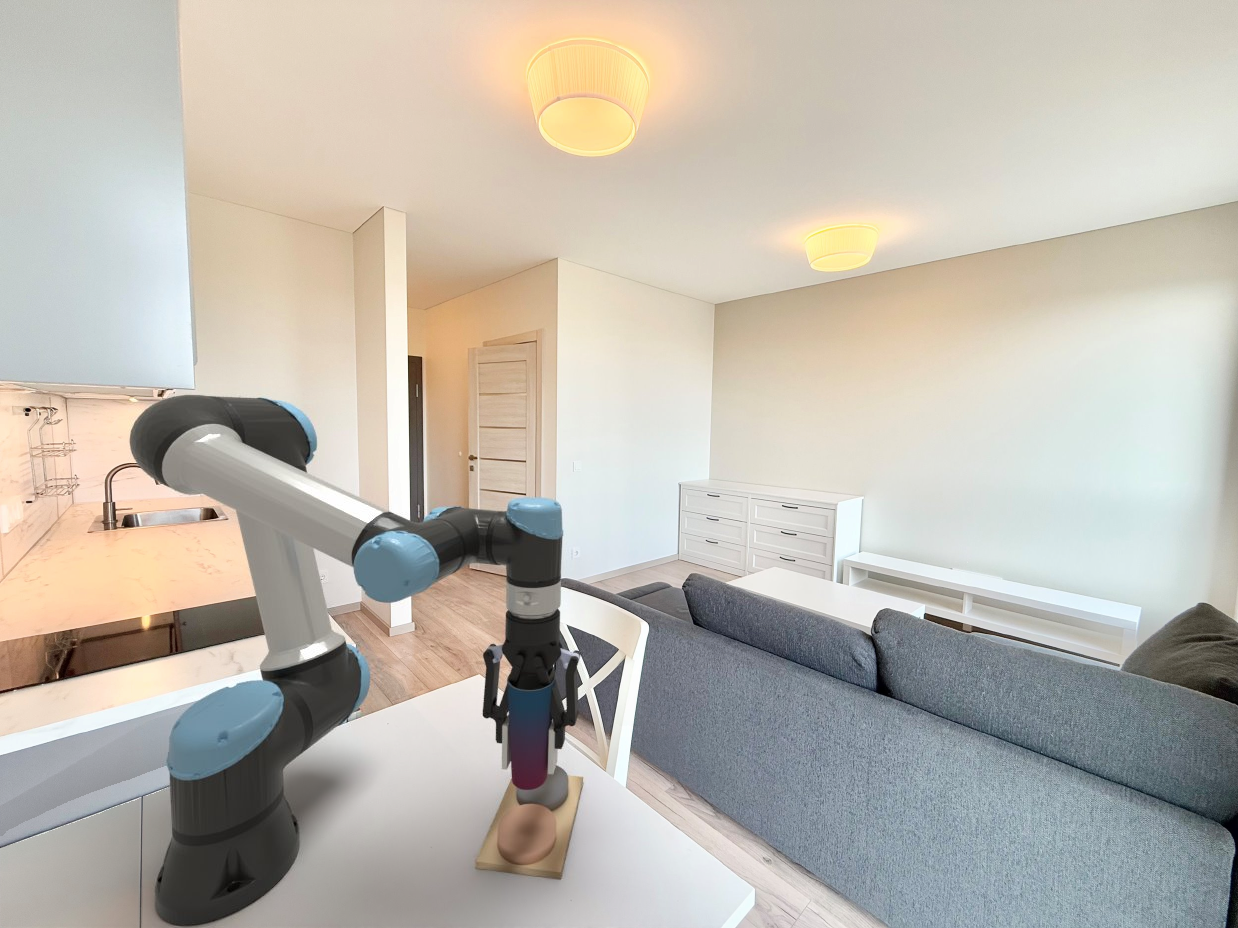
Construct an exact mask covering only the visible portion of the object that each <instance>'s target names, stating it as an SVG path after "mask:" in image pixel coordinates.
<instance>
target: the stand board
mask: <svg viewBox="0 0 1238 928" xmlns="http://www.w3.org/2000/svg"><path fill="white" fill-rule="evenodd" d="M583 785H584V776H577V775H571V774H570V775H568V773H567V772H566V771H565V769H564V768H562V767H561V766H559V765H557V764H556V767H555V770H554V773H553V774H548V771H547V779H546V781H545V783H544V784H543V785H541V786H540V787H538V788H536V789H533V790H522V789H519V788H517V787H516V786H514V784H513V782H512V777H511V779H510V780H509V783H508V785H507V787H506V790H505V792H504V795H503V797H502V799H501V802H500V804H499V805H498V809H497V810H496V813H495V815H494V818H493V819H492V822H491V825H490V827H489V830H488V831H487V834H486V837H485V838H484V840H483V843H482V845H481V847H480V850H479V852H478V854H477V857H476V860H475V863H474V868H475V869H478V870H479V869H481V870H488V871H493V872H502V873H509V874H518V875H525V876H534V877H541V878H547V879H548V878H549V879H557V880H561V879H562V876H563V871H564V866H565V863H566V858H567V854H568V849H569V844H570V841H571V836H572V832H573V827H574V823H575V819H576V814H577V810H578V806H579V801H580V797H581V793H582V789H583Z"/></svg>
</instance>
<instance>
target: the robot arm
mask: <svg viewBox="0 0 1238 928" xmlns="http://www.w3.org/2000/svg"><path fill="white" fill-rule="evenodd" d="M128 441H129V447H130V453H131V454H132V457H133V459H134V461H135V462H136V464H137V465H138V466H139V467H140V469H141V470H142V471H143V472H144V473H145V474H147V475H148V476H149V477H150V478H152V479H153V480H154V481H157V482H158V483H160V484H161V485H164V486H166V487H167V488H170V489H172V490H174V491H175V492H177V493H180V494H184V495H191V496H192V495H193V496H194V495H203V496H206V497H207V498H210V499H212V500H214V501H216V502H219V503H221V504H223V505H225V506H226V507H228V508H230V509H233V510H235V512H236V518H237V522H238V525H239V530H240V534H241V538H242V539H241V540H242V543H243V547H244V551H245V555H246V560H247V564H248V569H249V572H250V576H251V580H252V584H253V590H254V594H255V597H256V598H255V599H256V603H257V605H258V610H259V611H258V612H259V615H260V620H261V623H262V628H263V632H264V635H265V640H266V641H265V642H266V644H267V648H268V652H267V654H266V656H265V657H264V659H263V661H261V663H260V665H259V670H260V675H261V679H259V680H258V679H256V680H247V681H241V682H239V683H236V684H235V685H234V686H232V687H231V686H230V687H229V686H225V687H222V688H220V689H218V690H216V691H213V692H212V693H209V694H207V695H205V696H203V697H202V698H200V699H199V700H198V701H196V702H195V703H193V704H192V705H191V706H189V707H188V708H187V709H186V710H185V711H183V712H182V714H181V715H180V716H179V718H177V720H176V721H175V723H174V725H173V727H172V729H171V732H170V736H169V741H168V742H169V745H168V746H169V747H168V752H167V757H166V766H167V770H168V773H169V793H170V812H171V815H170V816H171V834H172V835H171V838H170V840H169V844H168V847H167V850H166V853H165V855H164V859H163V861H162V866H161V868H160V870H159V872H158V875H157V878H156V882H155V885H154V897H155V898H154V899H155V910H156V912H157V913H158V915H159V917H160V918H162V919H163V920H164V921H166V922H169V923H170V924H174V925H180V926H181V925H182V926H187V925H188V926H189V925H199V924H204V923H208V922H211V921H215V920H219V919H221V918H224V917H227V916H229V915H231V914H233V913H235V912H238V911H239V910H241V909H243V908H245V907H246V906H249V904H251V903H253V902H254V901H256V900H257V899H259V898H261V897H262V896H263V895H264V894H266V893H267V892H268V891H270V890H271V888H274V887H275V885H276V884H277V883H279V882H280V880H282V878H283V877H284V876H285V875H286V874H287V872H288V871H289V869H291V867H292V865H293V863H294V862H295V860H296V858H297V856H298V853H299V849H300V842H301V841H300V840H301V839H300V826H299V822H298V819H297V818H296V816H295V815H294V814H293V811H292V809H291V805H290V804H289V802H288V800H287V798H286V796H285V795H284V794H285V793H284V790H285V789H284V769H285V768H286V767H287V765H289V764H290V763H292V762H293V761H294V760H296V759H297V758H298V757H299V756H300V755H301V754H303V753H304V752H305V751H307V750H308V749H309V748H311V747H312V746H313V745H314V744H316V743H317V742H318V741H320V740H321V739H322V738H325V736H326V735H328V734H329V733H330V732H332V731H333V730H334V729H336V728H337V727H339V726H341V725H343V723H345V722H346V721H347V720H348V719H349V718H350V717H351V715H352V714H354V713H355V712H356V711H357V710H358V709H359V708H360V707H361V706H362V704H363V703H364V702H365V700H366V698H367V696H368V693H369V691H370V686H371V671H370V666H369V662H368V661H367V659H366V657H365V655H364V654H363V653H361V654H360V653H359V649H358V648H357V647H355V646H354V645H352V644H348V643H347V641H346V636H345V635H342V634H340V633H338V632H336V631H334V630H333V629H332V624H331V620H330V616H329V611H328V607H327V603H326V598H325V594H324V590H323V585H322V581H321V577H320V576H321V575H320V571H319V567H318V564H317V559H316V554H315V551H314V550H317V551H318V552H320V553H323V554H325V555H327V556H329V557H331V558H333V559H335V560H337V561H339V562H341V563H343V564H345V565H346V566H347V565H348V566H349V567H351V568H352V569H353V575H354V578H355V582H356V583H357V586H358V587H361V588H362V591H364V594H365V595H366V596H367V597H368V598H370V599H372V600H374V601H376V602H378V603H384V604H385V603H386V604H390V603H391V604H392V603H397V602H400V601H403V600H405V599H408V598H410V597H412V596H415V595H418V594H420V593H422V592H424V591H426V590H428V589H429V587H431V586H433V585H434V584H436V583H438V582H440V581H441V580H443V579H445V578H447V577H449V576H450V575H453V574H454V573H456V572H458V571H460V570H462V569H464V568H465V567H468V566H469V565H471V564H481V565H491V566H492V565H493V566H505V572H506V577H505V578H506V580H505V581H506V582H505V583H506V585H505V587H506V588H505V589H506V591H505V595H506V596H505V597H506V598H505V608H506V612H505V633H504V634H505V636H504V637H505V639H504V642H503V644H499V645H496V644H495V643H491V644H490V645H489V646H488V647H487V648H486V649H485V651H484V652H483V653H482V656H483V661H484V665H485V680H484V692H483V703H482V716H483V718H484V719H492V720H494V722H495V742H496V743H497V744H501V770H508V767H509V766H510V765H511V752H510V731H509V710H508V687H507V684H506V686H505V688H504V692H503V695H502V697H501V700H500V703H499V705H498V693H499V679H500V668H501V660H502V658H503V656H504V657H505V659H506V660H507V662H508V663H509V664H510V666H511V668H510V673H509V674H510V675H508V676H509V678H508V677H507V678H508V680H509V681H510V683H511V685H512V686H513V687H515V688H517V685H518V683H519V680H520V677H521V676H527V675H532V676H534V677H539V680H540V683H541V685H542V686H543V688H544V687H546V686H548V685H550V684H551V683H552V681H553V679H554V676H555V675H556V673H555V672H556V670H555V667H554V666H555V664H556V663H557V662H558V660H561V661H562V666H563V669H565V670H566V671H565V678H564V679H565V698H566V699H565V703H566V704H565V705H566V709H565V706H564V702H563V699H562V696H561V692H560V688H559V685H558V682H557V680H556V682H555V687H554V688H552V689H551V700H550V713H551V716H552V724H551V726H550V729H549V748H548V774H553V773H554V770H555V767H556V765H557V763H558V756H559V755H558V753H559V752H558V750H562V749H563V747H564V744H565V741H566V727H567V726H568V727H574V726H575V725H576V724H577V719H578V717H579V712H580V711H579V710H580V709H579V689H578V688H579V685H578V684H579V681H578V665H579V662H580V659H581V655H582V654H581V652H580V651H579V650H577V649H576V650H574V651H569V650H567V649H564V647H563V645H562V642H561V640H560V639H561V638H560V635H561V633H560V632H561V631H560V630H561V610H560V609H559V608H560V607H561V601H562V600H561V599H562V597H561V595H562V588H561V587H562V557H563V555H562V554H563V538H564V537H563V536H564V529H563V509H562V505H561V503H560V502H559V501H557V500H555V499H554V498H548V497H540V496H539V497H538V496H537V497H535V496H534V497H533V496H532V497H530V496H525V497H524V496H523V497H517V498H514V499H511V500H510V501H508V503H507V509H506V510H492V509H491V510H489V509H478V508H470V507H469V508H468V507H462V506H460V505H459V506H457V505H454V506H451V507H448V506H439V507H435V508H433V509H431V510H430V511H429V514H428V515H426V516H425V517H424V518H423V521H421V522H415V521H412V520H410V519H408V518H405V517H403V516H400V515H398V514H397V513H394V512H392V511H390V510H387V509H385V508H384V507H381V506H379V505H376V504H375V503H372V501H371V502H370V501H368V500H366V499H364V498H362V497H360V496H357V495H355V494H354V493H351V492H349V491H346V490H344V489H343V488H341V487H338V486H336V485H334V484H332V483H329V482H328V481H326V480H323V479H320V478H319V477H316V476H315V475H313V474H311V473H308V471H307V465H308V464H310V462H312V461H313V459H314V457H315V454H314V452H316V451H317V448H318V437H317V432H316V430H315V428H314V425H313V423H312V421H311V420H310V418H309V417H308V416H307V414H306V413H304V411H303V410H301V409H299V408H298V407H296V406H295V405H294V404H291V403H289V402H287V401H282V400H276V399H272V398H271V399H270V398H267V397H239V396H238V397H237V396H233V397H232V396H217V395H215V396H214V395H205V394H204V395H203V394H183V395H181V394H180V395H176V396H171V397H167V398H164V399H162V400H159V401H157V402H155V403H153V404H152V405H150V406H149V407H147V408H146V409H144V411H142V413H141V414H139V416H138V417H137V418H136V419H135V421H134V423H133V424H132V427H131V430H130V434H129V440H128Z"/></svg>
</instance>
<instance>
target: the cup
mask: <svg viewBox="0 0 1238 928" xmlns="http://www.w3.org/2000/svg"><path fill="white" fill-rule="evenodd" d="M509 675H510V673H509ZM509 675H508V676H507V679H506V685H507V687H508V710H509V711H508V714H509V731H510V752H511V762H510V768H511V778H512V782H513V784H514V786H516V787H517V788H519V789H522V790H533V789H536V788H538V787H540V786H541V785H543V784H544V783H545V781H546V779H547V771H548V748H549V729H550V726H551V724H552V721H553V720H552V716H551V713H550V700H551V689H552V688H554V687H555V682H556V681H557V676H556V675H557V674H555V676H554V679H553V681H552V683H551V684H550V685H548V686H546V687H544V688H543V686H542V685H541V683H540V680H539V677H534V676H532V675H527V676H521V677H520V680H519V683H518V685H517V688H515V687H513V686H512V685H511V683H510V681H509V680H508V678H509Z"/></svg>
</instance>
